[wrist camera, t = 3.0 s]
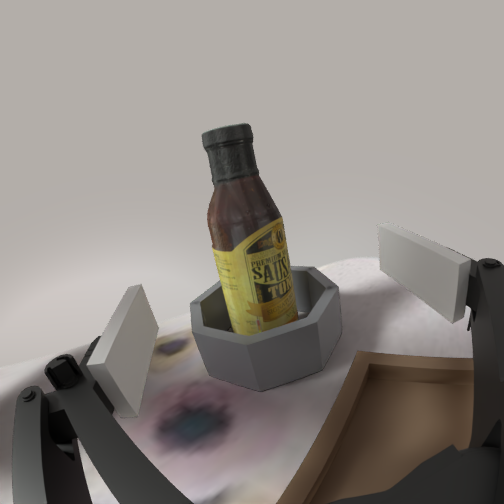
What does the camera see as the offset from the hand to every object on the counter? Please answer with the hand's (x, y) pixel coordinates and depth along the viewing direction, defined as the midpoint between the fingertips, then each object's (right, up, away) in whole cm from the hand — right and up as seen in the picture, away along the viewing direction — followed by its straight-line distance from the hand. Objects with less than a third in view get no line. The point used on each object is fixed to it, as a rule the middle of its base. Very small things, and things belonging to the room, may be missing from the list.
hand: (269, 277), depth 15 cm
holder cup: (+1, -7, +13) cm, 15 cm away
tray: (+10, -11, -4) cm, 16 cm away
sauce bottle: (+1, -7, +13) cm, 15 cm away
